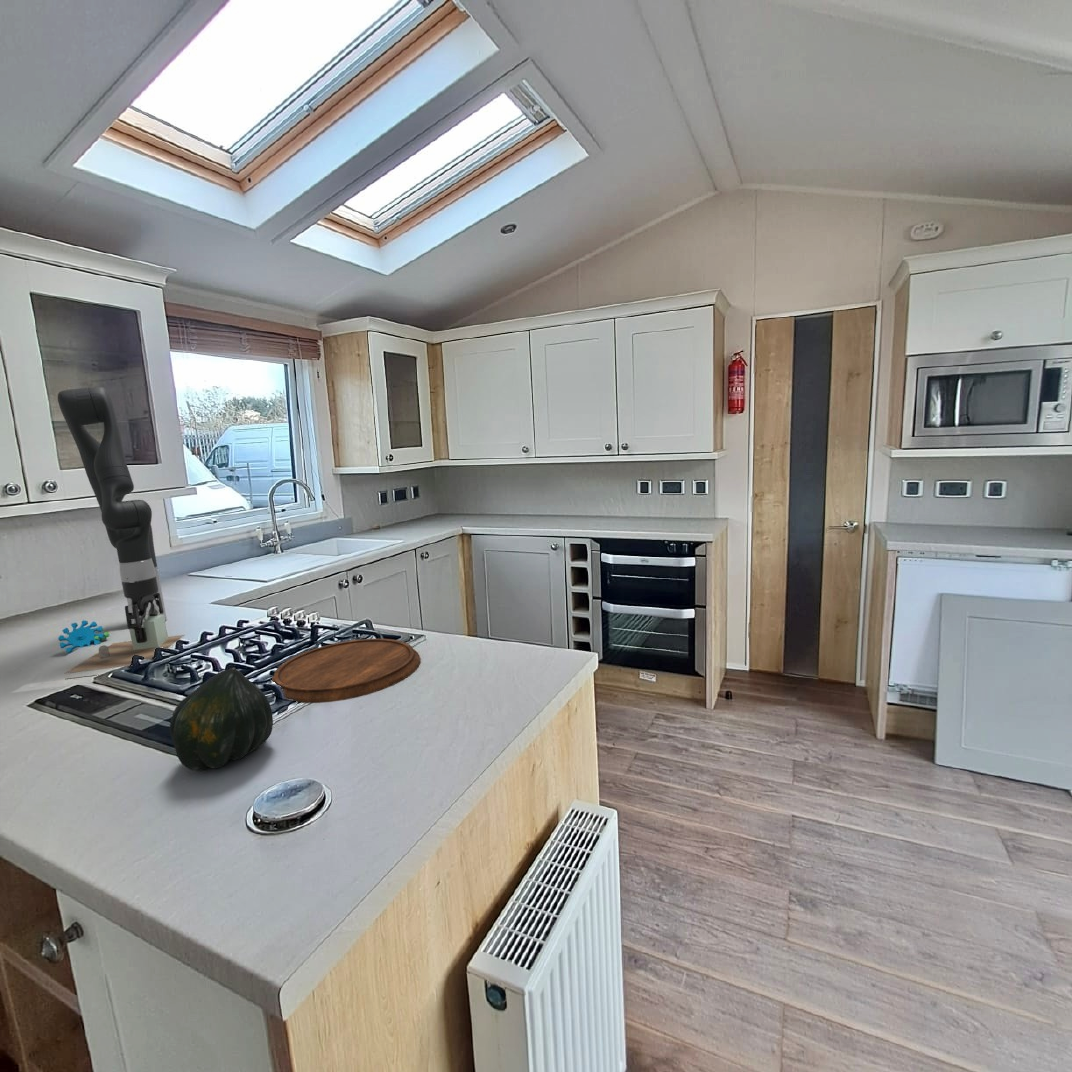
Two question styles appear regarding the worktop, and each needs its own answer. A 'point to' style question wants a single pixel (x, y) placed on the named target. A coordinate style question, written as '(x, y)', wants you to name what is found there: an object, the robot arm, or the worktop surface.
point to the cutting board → (346, 670)
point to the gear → (82, 636)
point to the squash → (220, 721)
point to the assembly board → (118, 656)
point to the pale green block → (152, 633)
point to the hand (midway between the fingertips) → (149, 637)
